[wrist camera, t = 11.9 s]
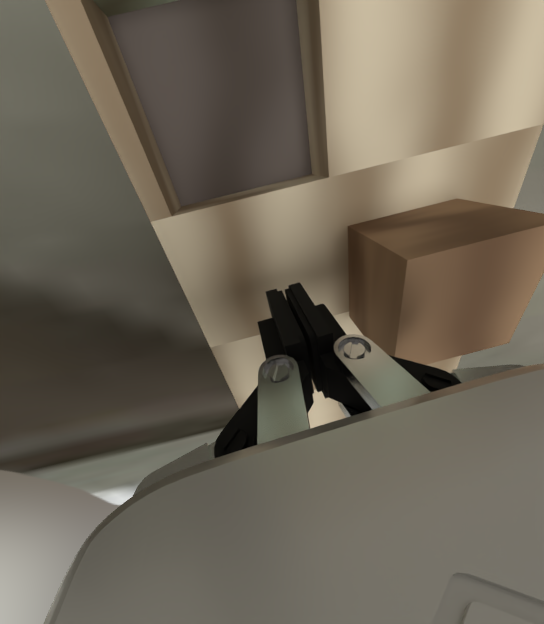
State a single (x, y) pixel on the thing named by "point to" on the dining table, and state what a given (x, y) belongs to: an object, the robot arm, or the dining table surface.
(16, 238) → the dining table surface
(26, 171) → the dining table surface
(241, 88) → the trap deck
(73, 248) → the dining table surface
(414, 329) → the walnut block
